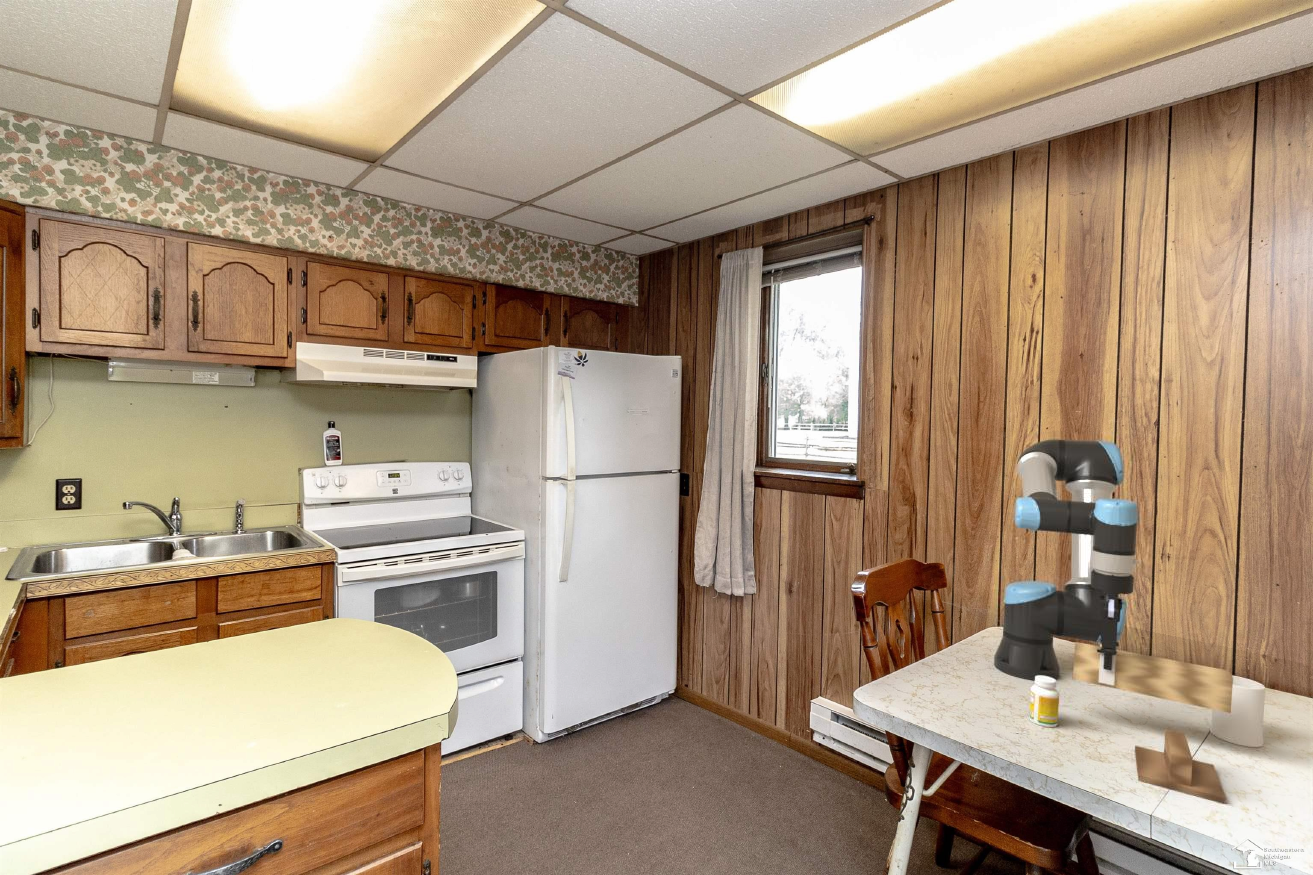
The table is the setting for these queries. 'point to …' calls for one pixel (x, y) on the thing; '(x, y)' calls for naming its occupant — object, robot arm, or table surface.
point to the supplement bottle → (1044, 702)
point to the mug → (1242, 715)
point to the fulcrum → (1178, 769)
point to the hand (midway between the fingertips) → (1106, 679)
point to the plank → (1158, 677)
